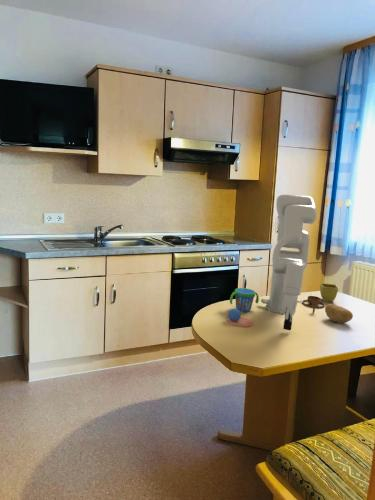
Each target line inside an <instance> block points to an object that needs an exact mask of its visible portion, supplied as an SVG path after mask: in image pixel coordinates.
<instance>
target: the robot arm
mask: <svg viewBox="0 0 375 500" xmlns="http://www.w3.org/2000/svg"><path fill="white" fill-rule="evenodd" d="M275 205H276V212H277V216H278V217H277V218H278V226H277V240H276V244H275V247H274V248H273V251H272V258H271V260H272V261H271V262H272V264H271V265H272V266H271V267H272V272H271V273H272V274H271V282H270V283H271V284H270V290H269V298H267V299H266V298H261V299H260V302H261V303H262V304H265V309H266V310H267V311H269V312H272V313H277V314H280V315H281V316H284V320H283V328H282V329H283V330H286V331H291V330H292V325H293V317H294V314H295V313H296V311H297V304H298V302H297V301H298V296H301V295H302V294H301V293H302V286H303V279H304V278H303V277H304V272H305V270H306V268H307V267H308V259H309V249H310V235H309V234H310V233H309V232H308V231H306V230H303V227H304V226H303V225H304V224H307V225H309V224H311V225H312V224H314V223H315V222H316V221H317V207H316V204H315V201H314V199H313V197H312V196H309V195H297V194H281V195H278V197H277V198H276V203H275ZM282 248H286V249H294V250H284V249H282ZM295 249H297V250H298V251H297V250H295Z"/></svg>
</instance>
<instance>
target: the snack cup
mask: <svg viewBox="0 0 375 500" xmlns="http://www.w3.org/2000/svg"><path fill="white" fill-rule="evenodd" d="M234 296H235V309H238V310H239V311H240V312H243V313H244V312H245V313H246V312H250V311H251V310H252V305H253V303H255V304H259V301H260V300H259V299H260V297H259V294H258V293H257V292H256V291H255V290H253V289H251V288H244V287H243V288H242V287H237V288H235V289H234V291H232V293H231V295H230V297H229V304H230V305H233V301H234V300H233V299H234ZM255 296H256V299H255V302H254V298H255Z"/></svg>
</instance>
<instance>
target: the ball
mask: <svg viewBox="0 0 375 500" xmlns="http://www.w3.org/2000/svg"><path fill="white" fill-rule="evenodd" d="M240 317H242V312H241V311H239V310H238V309H236V308H231V309H230V310H229V311H228V313H227V318H229V319H230V320H231V321H234V322H235V321H238V320H239V319H240Z"/></svg>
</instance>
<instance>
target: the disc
mask: <svg viewBox="0 0 375 500" xmlns="http://www.w3.org/2000/svg"><path fill="white" fill-rule="evenodd" d="M225 322H226V323H228V325H231V326H233V327H238V326H240V328H248V327H249V326H250V327H253V326H254V325H255V322H254V321H253V320H252V319H250V318H248V317H244V316H241V317H240V319H239V320H238V321H235V322H234V321H231V320H230V319H229V317H227V318H226V319H225ZM253 324H254V325H253Z"/></svg>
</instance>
